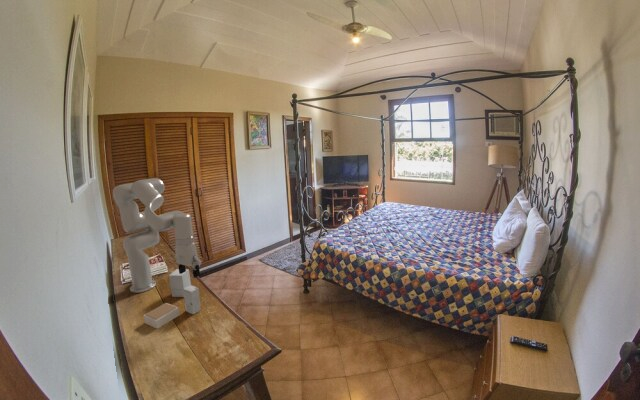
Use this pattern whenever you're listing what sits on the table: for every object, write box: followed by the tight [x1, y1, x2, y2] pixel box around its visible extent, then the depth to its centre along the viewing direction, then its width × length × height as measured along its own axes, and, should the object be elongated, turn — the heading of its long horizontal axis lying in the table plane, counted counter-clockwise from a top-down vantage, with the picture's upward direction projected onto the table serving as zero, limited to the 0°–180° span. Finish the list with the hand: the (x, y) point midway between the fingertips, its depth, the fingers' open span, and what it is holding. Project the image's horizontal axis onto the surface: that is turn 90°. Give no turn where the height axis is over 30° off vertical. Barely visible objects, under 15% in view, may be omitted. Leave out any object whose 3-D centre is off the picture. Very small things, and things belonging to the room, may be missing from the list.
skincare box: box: [183, 284, 201, 315], centre depth 138 cm, size 6×4×12 cm
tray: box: [143, 302, 180, 329], centre depth 132 cm, size 9×11×4 cm
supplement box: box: [168, 268, 192, 298], centre depth 153 cm, size 7×7×13 cm
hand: (189, 274), depth 134 cm, fingers open, 9 cm apart
